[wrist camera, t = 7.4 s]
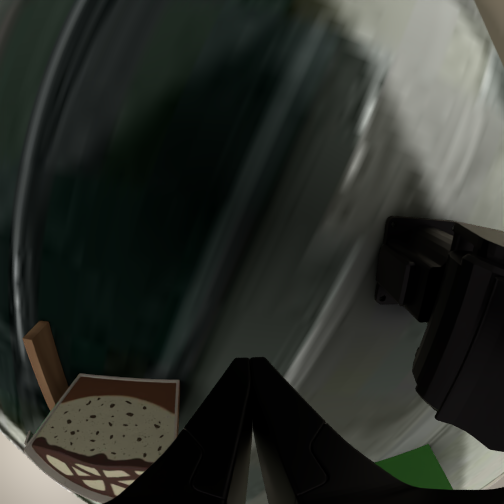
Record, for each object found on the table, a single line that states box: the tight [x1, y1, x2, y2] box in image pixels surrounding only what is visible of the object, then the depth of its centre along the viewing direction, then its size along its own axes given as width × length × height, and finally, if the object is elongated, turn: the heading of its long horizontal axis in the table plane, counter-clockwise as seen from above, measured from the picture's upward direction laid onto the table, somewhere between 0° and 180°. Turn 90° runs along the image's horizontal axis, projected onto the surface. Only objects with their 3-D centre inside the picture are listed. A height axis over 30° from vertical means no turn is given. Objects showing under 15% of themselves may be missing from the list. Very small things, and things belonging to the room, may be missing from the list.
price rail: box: [23, 321, 69, 411], centre depth 23 cm, size 1×16×3 cm, turn 178°
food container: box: [24, 373, 180, 504], centre depth 20 cm, size 12×6×10 cm, turn 92°
